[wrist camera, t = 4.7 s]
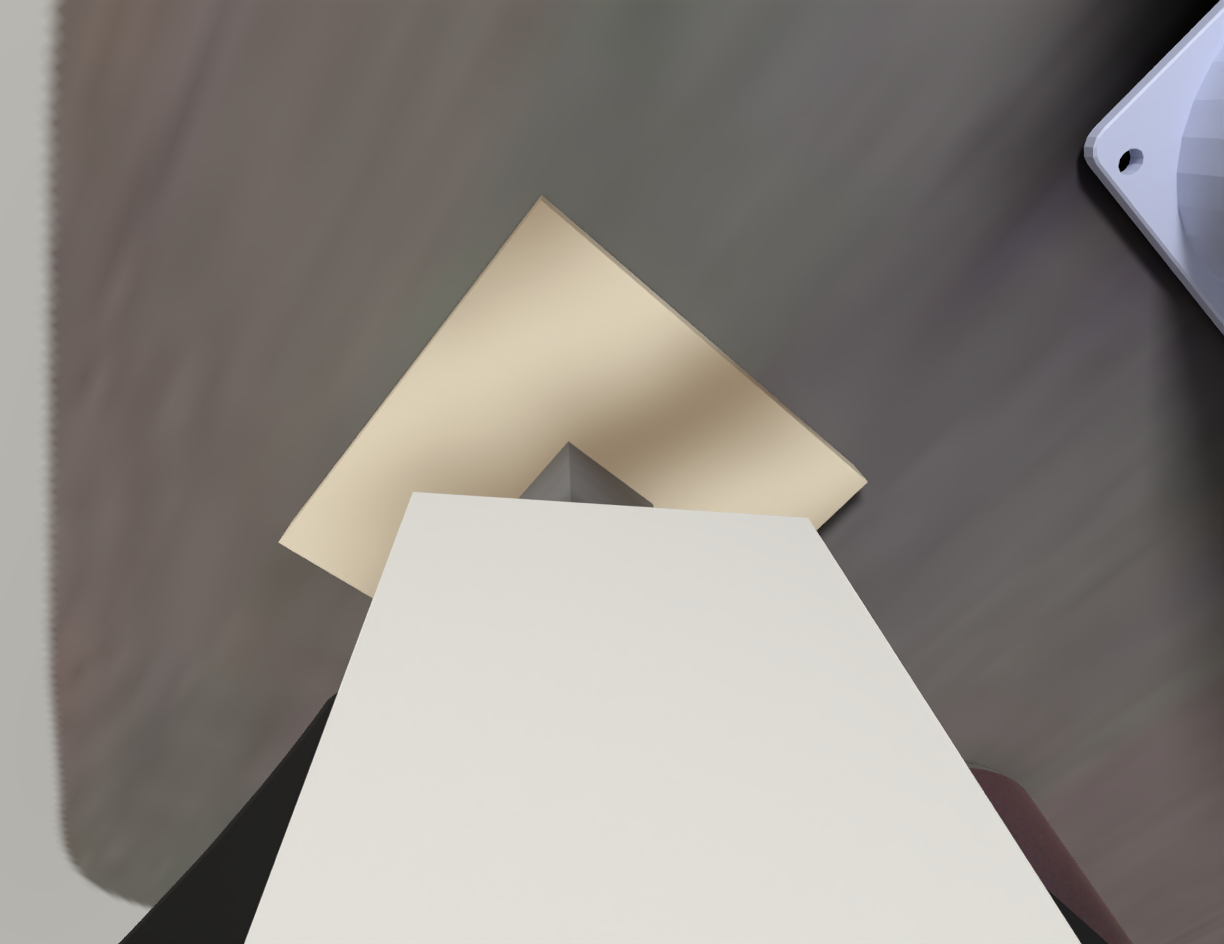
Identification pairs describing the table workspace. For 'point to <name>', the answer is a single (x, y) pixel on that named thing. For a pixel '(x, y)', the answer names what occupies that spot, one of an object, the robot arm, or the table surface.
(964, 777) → the white rectangular block
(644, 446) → the beige square base
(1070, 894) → the beverage can
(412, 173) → the table surface
